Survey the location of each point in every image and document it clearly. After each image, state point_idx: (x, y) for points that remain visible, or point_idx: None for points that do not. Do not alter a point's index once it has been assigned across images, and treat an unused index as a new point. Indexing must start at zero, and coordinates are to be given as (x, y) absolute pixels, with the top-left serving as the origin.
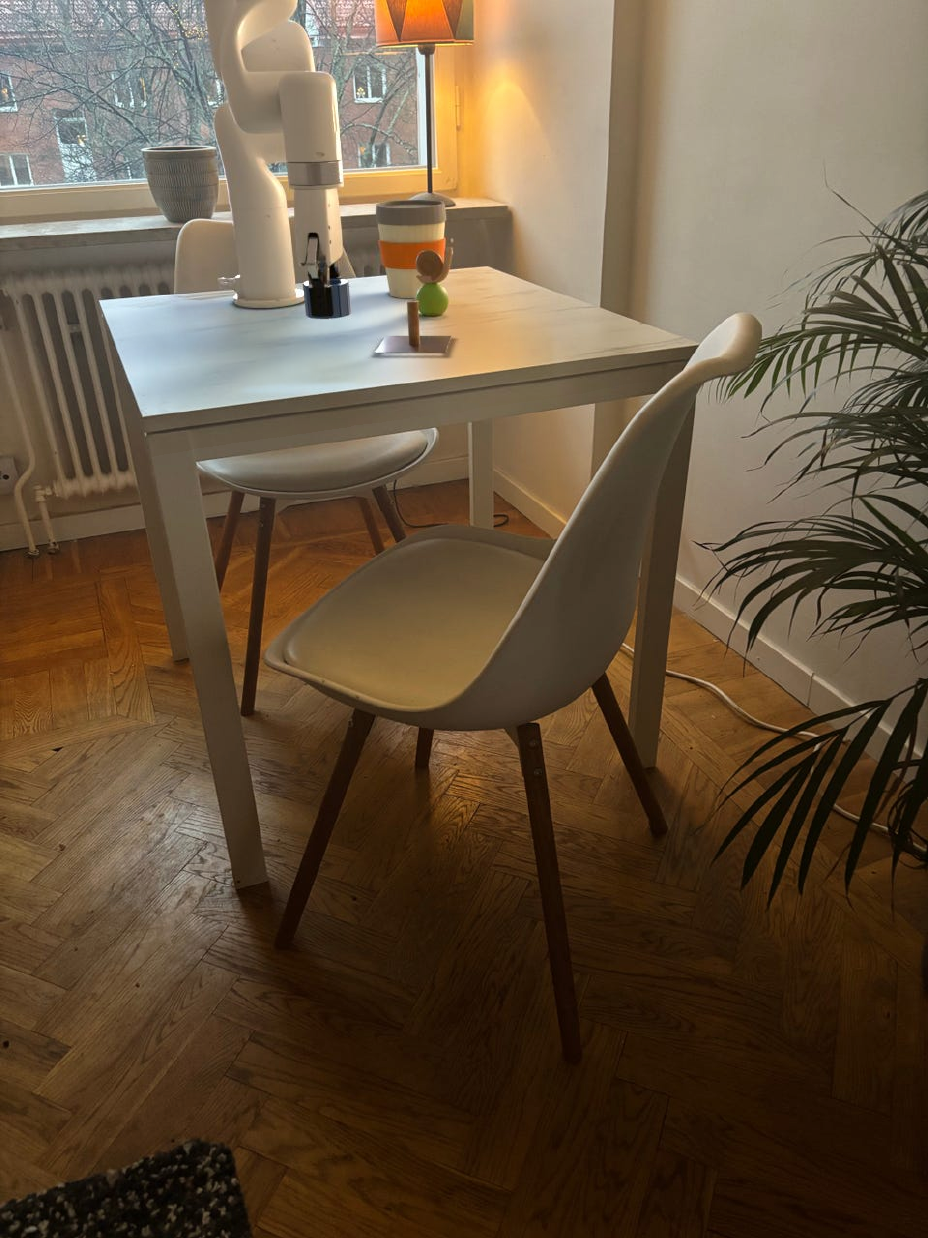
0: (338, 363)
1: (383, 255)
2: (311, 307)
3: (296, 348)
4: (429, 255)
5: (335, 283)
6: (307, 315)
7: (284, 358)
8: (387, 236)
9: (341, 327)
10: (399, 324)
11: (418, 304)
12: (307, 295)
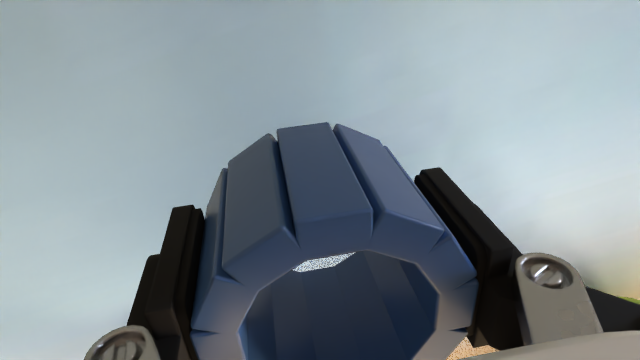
0: (45, 262)
1: None
2: (169, 231)
3: (201, 52)
4: None
5: (415, 326)
6: (245, 150)
7: (23, 59)
8: None
9: (533, 116)
10: None
11: None
12: (225, 227)
